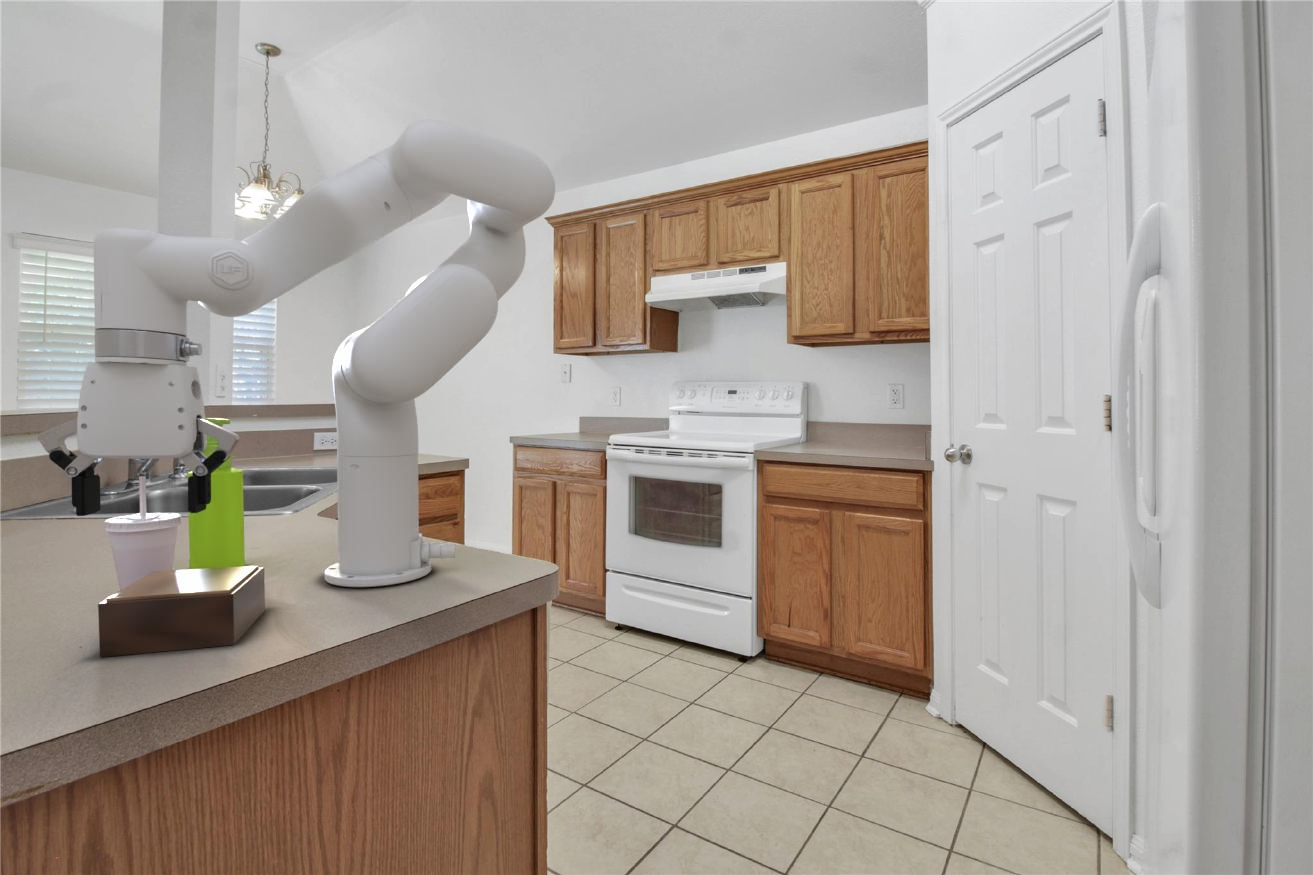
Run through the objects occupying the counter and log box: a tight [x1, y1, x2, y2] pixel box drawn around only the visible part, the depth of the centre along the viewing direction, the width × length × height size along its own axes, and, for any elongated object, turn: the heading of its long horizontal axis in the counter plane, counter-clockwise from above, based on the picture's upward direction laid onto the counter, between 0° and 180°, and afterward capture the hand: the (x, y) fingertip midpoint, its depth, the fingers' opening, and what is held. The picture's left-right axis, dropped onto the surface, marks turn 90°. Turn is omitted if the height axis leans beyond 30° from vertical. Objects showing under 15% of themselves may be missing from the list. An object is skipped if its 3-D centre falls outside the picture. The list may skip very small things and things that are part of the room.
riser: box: [97, 565, 266, 658], centre depth 60 cm, size 10×10×5 cm
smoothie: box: [104, 475, 183, 591], centre depth 67 cm, size 6×6×14 cm
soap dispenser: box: [187, 417, 246, 570], centre depth 82 cm, size 6×7×20 cm
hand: (144, 512), depth 67 cm, fingers open, 9 cm apart
